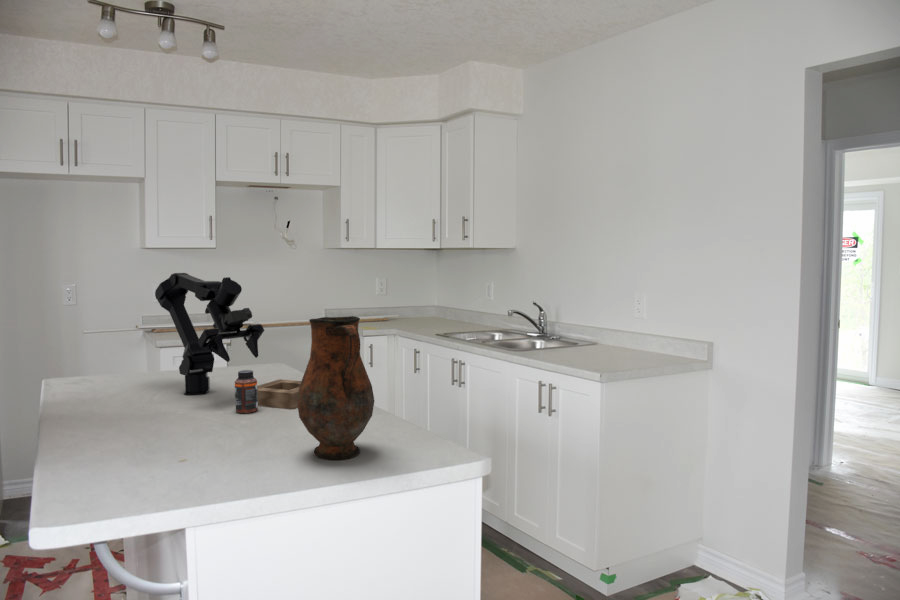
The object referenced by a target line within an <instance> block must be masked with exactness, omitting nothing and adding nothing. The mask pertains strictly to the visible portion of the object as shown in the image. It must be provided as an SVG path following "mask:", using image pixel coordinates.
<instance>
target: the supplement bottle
mask: <svg viewBox="0 0 900 600" xmlns="http://www.w3.org/2000/svg"><path fill="white" fill-rule="evenodd" d="M257 386H258V380H257V378H256V377H254V370H251V369H245V370H243V369H242V370H238V372H237V378H236V379H235V381H234V400H235V412H236V413H238V414H250V413H251V414H253V413H255V412H257V411H258V409H259V406H258V397H257Z"/></svg>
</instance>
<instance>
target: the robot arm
mask: <svg viewBox="0 0 900 600" xmlns="http://www.w3.org/2000/svg"><path fill="white" fill-rule="evenodd" d="M242 290H243V289H242V286H241V284H239V283H238V282H237V281H235V280H232V279H231V277H229V276H228V277H223V278H222V280H221V281H219V280H204V279H201V278H198V277H196V276H193V275H191V274H189V273H187V272H174V273H171V275H170V276H169V278H166V279H165V280H163V281H161V282H160V283H159V284H158V286H157V288H156V289H155V293H154V295H155V298H156V300H157V302H158V303H159V306H160V307H161V308H162V309H164V310H166V311H167V312H168V313H169V315H170V317H171V320H172V322H173V324H174V326H175V329H176V330H177V333H178V336H179V338H180V341H181V342H182V345H183V347H184V349H183V354H182V361H181V363H180V365H179V367H178V370H179V374H180V375H181V376H184V383H185V384H184V385H185V386H184V387H185V388H184V389H185V391H184V393H183V395H185V396H187V395H206V394H208V392H209V391H210V389H211V380H210V378H211V377H210V376H208V373H213V369H214V364H215V355H214V354H216V355H217V356H219V357H220V358H222V359H223V360H224V361H225V362H227V363H228V362H230V360H231V359H230V356H229V353H228V352H227V349H226V347H225V345H224V343H223V342H224V341H223V340H231V339H240V338H241V339H243V341H245V345H246V347H247V349H248V350H249V351H250V353H251V354H252V355H253V356H254V358H256V359H257V358H258V357H259V347H258V346H259V345H258V341H259V339H260V337H261V336H262V334H263V333H264V332H265V329H264V326H263V325H262V324H261V323H254V324H249V325H248V326H247V327H246V329H244V330H241V328H243V327H244V324H243V323H245V322H248V321H249V320H250V319H252V318H253V313H252V312H253V311H251V309H250V308H249V307H244V308H243V309H238V310H231V308H230V307H231V306H233V305H234V304H235V302H236V301H237V299H238V298H239V296H240V294H241V293H242ZM188 292H190V293H191V292H192V293H194V297H195V298H197V299H198V300H199V301H200V302H208V304H206V308H205V311H204V313H205V314H210V316H211V318H212V321H213V325H212V327H213V328H205V329H204V330H203V332H201V334H200V336H198V333H197V331H196V330H195V327H194V324H193V322H192V320H191V317H190V315H189V314H188V311H187V309H186V307H185V303H186V298H187V296H186V295H187V294H188Z"/></svg>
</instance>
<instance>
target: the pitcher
mask: <svg viewBox="0 0 900 600" xmlns="http://www.w3.org/2000/svg"><path fill="white" fill-rule="evenodd" d="M360 320H361V319H360V317H358V316H353V315H352V316H331V317H329V316H325V317H319V318H318V317H317V318H310V319H309V320H308V321H309V323H310V331H311V345H310V346H311V347H310V352H309V353H310V354H309V355H310V356H309V359H308V362H307V365H306V367H305V370H304V373H303V376H302V378H301V380H300V381H301V384H300V387H299V393H298V400H297V404H298V407H297V409H298V410H297V411H298V416H299V417H298V418H299V420H300V421H301V422H302V424H303V426H304V427H305V429H306V430H307V432H308V433H309V434H310V435H311V436H312V437H313V438H314V439H315V440H317V441H318V442H319V444H318V446H316V447H315V448H314V450H313V455H314V454H315V455H316V456H317V457H316V456H315V455H314V456H315V457H316V458H318V457H319V459H321V458H322V460H326V459H328V460H327V461H343V460H347V459H348V460H349V459H352V458H355V457H357V456H358V455H359V454H360V452H361V449H360V448H359V446H358V445H356V444H355V441H356V440H357V439H358V438H359V437H360V436H361V435H362V433H363V432H364V430H365V429H366V427H367V425H368V424H369V421H370V420H371V418H372V417H373V413H374V406H375V395H374V390H373V386H372V382H371V379H370V378H369V375H368V373H367V370H366V367H365V364H364V361H363V360H362V357H361V338H360V334H359V322H360Z"/></svg>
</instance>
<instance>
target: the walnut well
mask: <svg viewBox="0 0 900 600" xmlns="http://www.w3.org/2000/svg"><path fill="white" fill-rule="evenodd" d="M301 381H302V380H293V379H292V380H291V379H290V380H289V379H282V378H281V379H276V380H273V381H269V382H266V383H262V384H259V385H257V397H258V407H265V408H276V409H285V410H287V409H288V410H294V409H298V404H297V400H298V393H299V387H300V384H301Z"/></svg>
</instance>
